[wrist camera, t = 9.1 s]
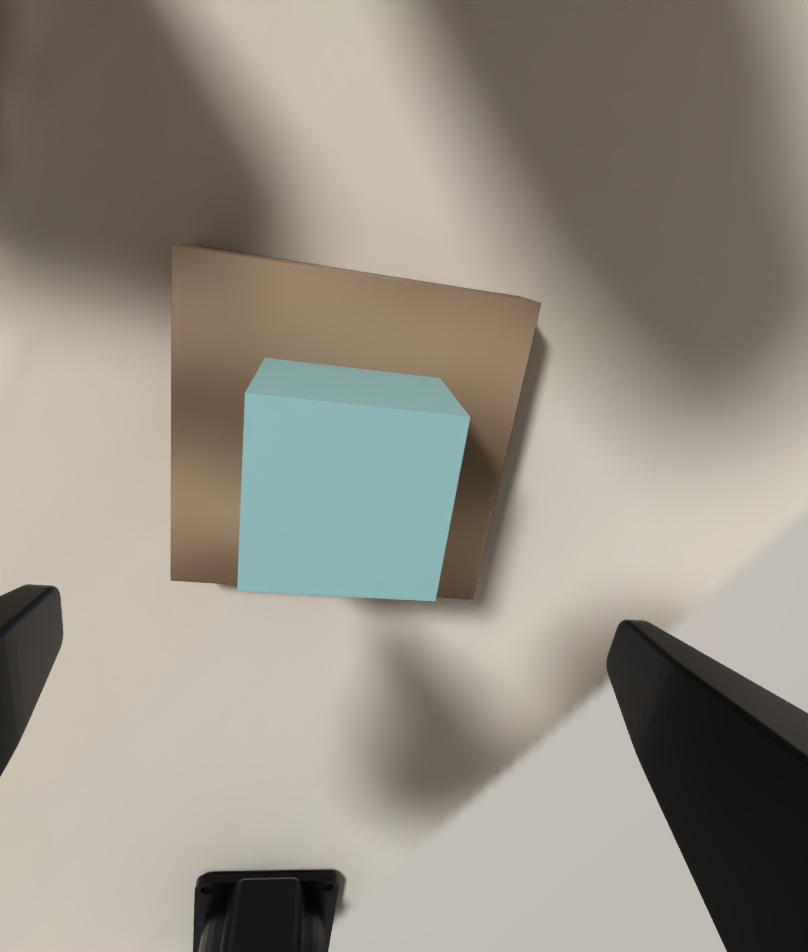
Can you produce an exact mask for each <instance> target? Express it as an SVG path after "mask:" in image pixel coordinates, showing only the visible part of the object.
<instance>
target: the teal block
mask: <svg viewBox="0 0 808 952" xmlns="http://www.w3.org/2000/svg"><path fill="white" fill-rule="evenodd" d="M469 422H470V416H469V414H468V413H467V412H466V411H465V409H464V408H463V407H462V406H461V404H460V403H459V402H458V400H457V399H456V398H455V397H454V395H453V394H452V393H451V392H450V390H449V389H448V388H447V387H446V385H445V384H444V383H443V382H442V380H441V379H440V378H435V377H427V376H418V375H410V374H401V373H392V372H384V371H375V370H367V369H358V368H350V367H341V366H332V365H324V364H315V363H307V362H298V361H290V360H281V359H272V358H264V360H263V362H262V364H261V365H260V367H259V369H258V371H257V373H256V374H255V376H254V378H253V380H252V381H251V383H250V385H249V387H248V388H247V390H246V392H245V405H244V431H243V456H242V481H241V506H240V531H239V556H238V582H237V591H245V592H264V593H283V594H303V595H322V596H341V597H361V598H380V599H399V600H419V601H436V595H437V590H438V585H439V580H440V574H441V569H442V564H443V559H444V553H445V548H446V543H447V538H448V532H449V527H450V522H451V516H452V511H453V506H454V501H455V495H456V490H457V485H458V480H459V474H460V469H461V464H462V459H463V453H464V448H465V443H466V437H467V432H468V427H469Z"/></svg>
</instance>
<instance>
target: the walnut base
mask: <svg viewBox="0 0 808 952" xmlns="http://www.w3.org/2000/svg"><path fill="white" fill-rule="evenodd" d="M540 306H541V303H540V302H537V301H533V300H530V299H526V298H523V297H520V296H513V295H507V294H500V293H494V292H488V291H481V290H475V289H468V288H462V287H456V286H449V285H443V284H436V283H430V282H424V281H417V280H411V279H404V278H398V277H392V276H385V275H379V274H372V273H366V272H360V271H353V270H347V269H340V268H334V267H328V266H321V265H315V264H308V263H302V262H296V261H289V260H283V259H276V258H270V257H264V256H257V255H251V254H244V253H238V252H231V251H225V250H219V249H212V248H206V247H199V246H193V245H173V246H172V341H171V581H186V582H202V583H218V584H234V585H237V582H238V556H239V531H240V506H241V481H242V456H243V431H244V405H245V392H246V390H247V388H248V387H249V385H250V383H251V381H252V380H253V378H254V376H255V374H256V373H257V371H258V369H259V367H260V365H261V364H262V362H263V360H264V358H272V359H281V360H290V361H298V362H307V363H315V364H324V365H332V366H341V367H350V368H358V369H367V370H375V371H384V372H392V373H401V374H410V375H418V376H427V377H435V378H440V379H441V380H442V382H443V383H444V384H445V385H446V387H447V388H448V389H449V390H450V392H451V393H452V394H453V395H454V397H455V398H456V399H457V400H458V402H459V403H460V404H461V406H462V407H463V408H464V409H465V411H466V412H467V413H468V414H469V416H470V422H469V427H468V432H467V437H466V443H465V448H464V453H463V459H462V464H461V469H460V474H459V480H458V485H457V490H456V495H455V501H454V506H453V511H452V516H451V522H450V527H449V532H448V538H447V543H446V548H445V553H444V559H443V564H442V569H441V574H440V580H439V585H438V590H437V595H436V597H442V598H457V599H473V596H474V592H475V588H476V583H477V579H478V575H479V570H480V566H481V562H482V557H483V553H484V549H485V544H486V540H487V536H488V531H489V527H490V523H491V518H492V514H493V510H494V505H495V501H496V497H497V492H498V488H499V484H500V479H501V475H502V471H503V466H504V462H505V458H506V453H507V449H508V445H509V440H510V436H511V432H512V427H513V423H514V419H515V414H516V410H517V406H518V401H519V397H520V392H521V388H522V384H523V379H524V375H525V371H526V366H527V362H528V358H529V353H530V349H531V345H532V340H533V336H534V332H535V327H536V323H537V319H538V314H539V310H540Z"/></svg>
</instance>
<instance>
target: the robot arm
mask: <svg viewBox="0 0 808 952" xmlns="http://www.w3.org/2000/svg"><path fill="white" fill-rule="evenodd" d="M62 640H63V622H62V610H61V598H60V593H59V590H58V589H57V588H56V587H55V586H48V585H31V584H28V585H24V586H21V587H19V588H17V589H15V590H13V591H10V592H8V593H6V594H4V595H2V596H0V776H1V775H2V773H3V771H4V769H5V768H6V766H7V764H8V762H9V761H10V759H11V757H12V755H13V753H14V751H15V750H16V748H17V746H18V744H19V742H20V740H21V737H22V735H23V733H24V731H25V729H26V727H27V724H28V722H29V720H30V717H31V715H32V713H33V710H34V708H35V706H36V704H37V701H38V699H39V697H40V694H41V692H42V690H43V687H44V685H45V683H46V680H47V678H48V676H49V673H50V671H51V669H52V667H53V664H54V662H55V660H56V657H57V655H58V653H59V650H60V648H61V644H62ZM607 672H608V675H609V678H610V681H611V684H612V686H613V689H614V692H615V695H616V698H617V701H618V704H619V707H620V709H621V712H622V715H623V718H624V721H625V724H626V727H627V730H628V732H629V735H630V738H631V741H632V744H633V746H634V748H635V752H636V754H637V756H638V759H639V761H640V763H641V765H642V768H643V770H644V772H645V775H646V777H647V779H648V781H649V783H650V785H651V788H652V790H653V792H654V794H655V796H656V798H657V801H658V803H659V805H660V807H661V809H662V812H663V814H664V816H665V818H666V820H667V822H668V825H669V827H670V829H671V831H672V833H673V835H674V838H675V840H676V842H677V844H678V846H679V848H680V850H681V853H682V855H683V857H684V859H685V861H686V864H687V866H688V868H689V870H690V872H691V874H692V877H693V879H694V881H695V883H696V885H697V887H698V890H699V892H700V894H701V896H702V898H703V900H704V903H705V905H706V907H707V909H708V911H709V913H710V916H711V918H712V919H713V922H714V924H715V927H716V929H717V931H718V933H719V935H720V937H721V940H722V942H723V944H724V946H725V948H726V950H727V952H808V713H806V712H805V711H803V710H801V709H799V708H798V707H796V706H794V705H792V704H791V703H789V702H787V701H785V700H784V699H782V698H780V697H778V696H777V695H775V694H773V693H771V692H770V691H768V690H766V689H764V688H763V687H761V686H759V685H757V684H756V683H754V682H752V681H750V680H749V679H747V678H745V677H744V676H742V675H740V674H738V673H737V672H735V671H733V670H731V669H730V668H727V667H726V666H724V665H723V664H721V663H719V662H717V661H715V660H714V659H712V658H710V657H709V656H707V655H705V654H703V653H702V652H700V651H698V650H696V649H695V648H693V647H691V646H689V645H688V644H685V643H684V642H682V641H681V640H679V639H677V638H675V637H674V636H672V635H670V634H668V633H667V632H665V631H663V630H661V629H660V628H658V627H656V626H654V625H653V624H651V623H649V622H647V621H643V620H623V621H622V622H621V623H620V624H619V625H618V627H617V630H616V633H615V636H614V639H613V642H612V645H611V647H610V650H609V653H608V656H607ZM338 888H339V878H338V875H337V874H336V873H334V872H287V873H233V874H205V875H202V876H200V877H199V878H198V879H197V883H196V887H195V903H194V938H193V952H328V948H329V943H330V937H331V931H332V925H333V919H334V912H335V906H336V900H337V894H338Z"/></svg>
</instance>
